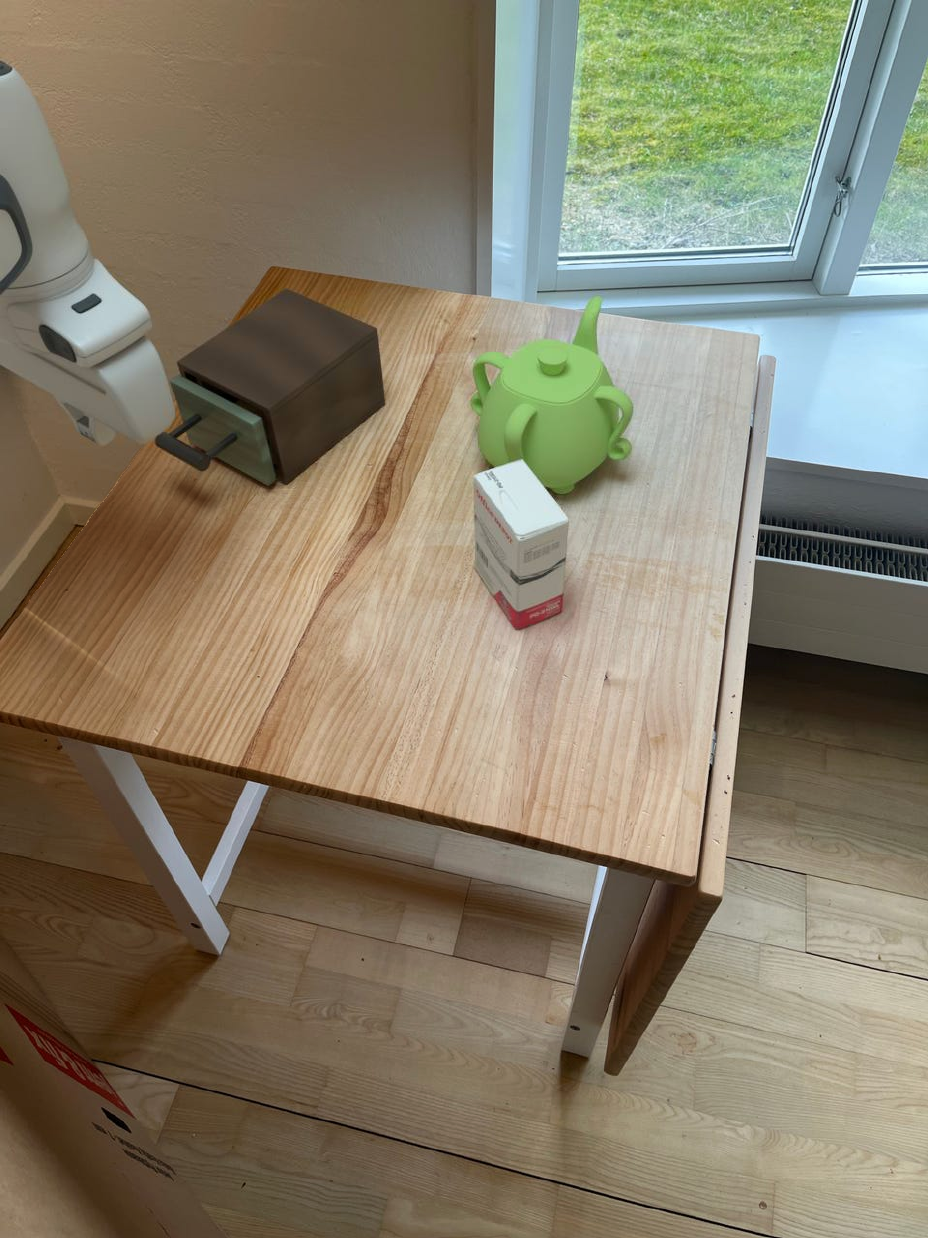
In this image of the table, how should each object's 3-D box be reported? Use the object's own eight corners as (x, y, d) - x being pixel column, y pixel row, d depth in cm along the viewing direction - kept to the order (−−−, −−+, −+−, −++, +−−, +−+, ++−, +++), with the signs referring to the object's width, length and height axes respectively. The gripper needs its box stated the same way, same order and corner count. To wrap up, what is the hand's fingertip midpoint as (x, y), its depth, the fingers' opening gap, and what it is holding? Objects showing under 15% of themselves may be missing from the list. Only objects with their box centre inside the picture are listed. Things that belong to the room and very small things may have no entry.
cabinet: (286, 485, 95) (268, 409, 88) (199, 437, 100) (176, 361, 93) (385, 404, 103) (377, 327, 95) (300, 363, 108) (286, 287, 100)
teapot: (462, 413, 102) (458, 309, 92) (590, 394, 103) (600, 290, 93) (493, 517, 92) (492, 413, 82) (634, 495, 93) (650, 390, 83)
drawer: (229, 517, 91) (211, 455, 85) (150, 470, 96) (127, 409, 90) (363, 409, 101) (355, 347, 95) (285, 371, 105) (272, 309, 99)
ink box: (564, 612, 84) (573, 518, 75) (515, 632, 83) (517, 539, 74) (519, 549, 89) (522, 454, 80) (472, 567, 88) (469, 473, 79)
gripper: (-79, 266, 73) (-8, 410, 84) (95, 359, 65) (149, 505, 76) (-9, 231, 76) (50, 374, 87) (164, 316, 68) (206, 462, 79)
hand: (97, 436), depth 81 cm, fingers closed
